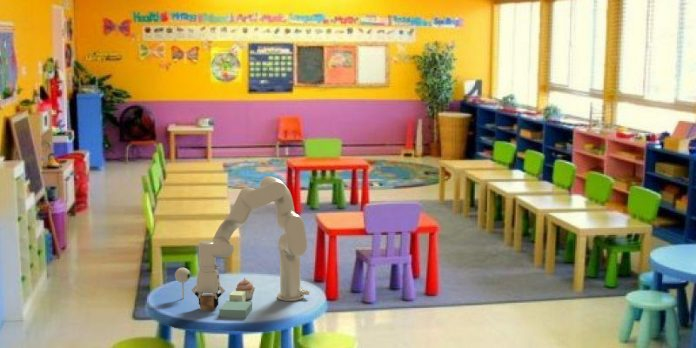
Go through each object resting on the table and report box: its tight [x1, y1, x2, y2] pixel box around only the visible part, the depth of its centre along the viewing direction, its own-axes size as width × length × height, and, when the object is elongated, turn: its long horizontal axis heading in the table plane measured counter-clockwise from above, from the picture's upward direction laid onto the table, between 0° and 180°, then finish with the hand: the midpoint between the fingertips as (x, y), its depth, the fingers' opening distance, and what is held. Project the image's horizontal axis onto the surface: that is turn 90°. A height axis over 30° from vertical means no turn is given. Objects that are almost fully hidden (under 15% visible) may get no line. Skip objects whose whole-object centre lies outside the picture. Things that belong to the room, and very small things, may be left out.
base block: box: [219, 300, 253, 319], centre depth 397 cm, size 12×12×4 cm
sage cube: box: [229, 290, 246, 302], centre depth 408 cm, size 6×6×6 cm
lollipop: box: [174, 267, 191, 300], centre depth 417 cm, size 7×7×15 cm
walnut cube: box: [199, 293, 216, 312], centre depth 404 cm, size 6×6×6 cm
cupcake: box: [234, 277, 256, 301], centre depth 418 cm, size 9×9×10 cm
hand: (208, 306), depth 404 cm, fingers closed on walnut cube, 6 cm apart
